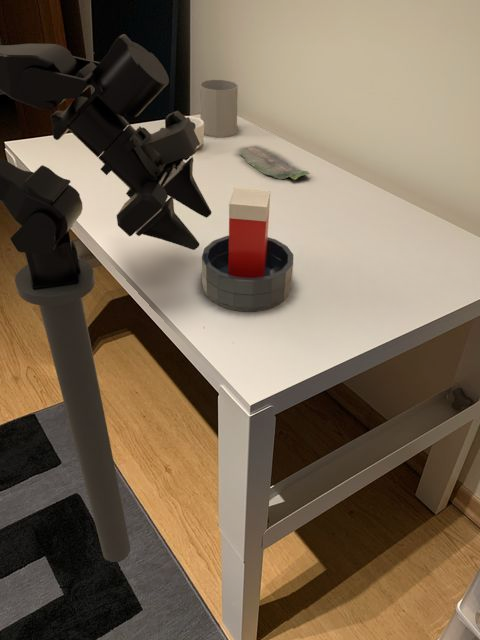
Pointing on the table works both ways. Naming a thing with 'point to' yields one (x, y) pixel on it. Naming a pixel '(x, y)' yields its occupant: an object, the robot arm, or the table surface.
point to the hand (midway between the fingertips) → (203, 230)
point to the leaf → (270, 164)
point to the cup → (219, 107)
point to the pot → (247, 290)
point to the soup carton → (248, 232)
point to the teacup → (198, 128)
